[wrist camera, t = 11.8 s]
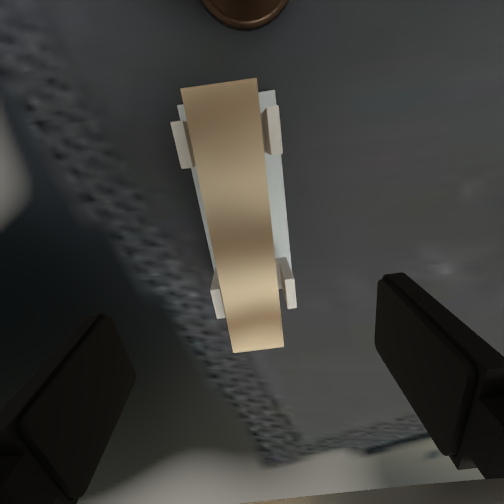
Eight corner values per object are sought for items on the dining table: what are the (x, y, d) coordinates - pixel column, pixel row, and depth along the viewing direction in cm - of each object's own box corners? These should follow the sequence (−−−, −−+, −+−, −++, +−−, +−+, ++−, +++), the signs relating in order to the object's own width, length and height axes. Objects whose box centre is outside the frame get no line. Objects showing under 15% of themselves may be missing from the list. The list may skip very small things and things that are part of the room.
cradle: (180, 107, 25) (148, 89, 17) (273, 92, 25) (289, 66, 16) (219, 285, 33) (211, 337, 24) (290, 275, 33) (308, 324, 24)
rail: (200, 105, 20) (180, 88, 14) (252, 98, 20) (256, 77, 14) (235, 302, 27) (233, 353, 21) (274, 297, 27) (284, 346, 21)
